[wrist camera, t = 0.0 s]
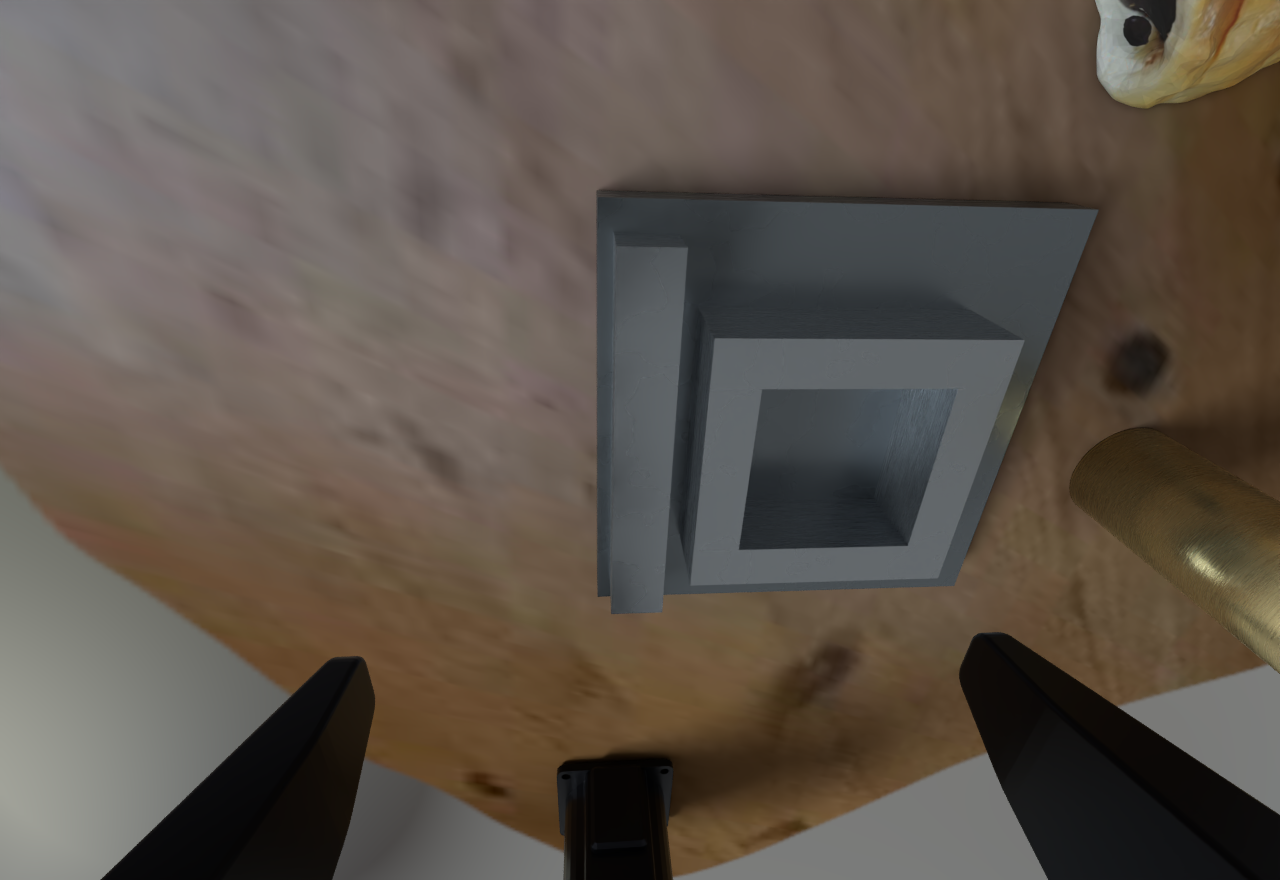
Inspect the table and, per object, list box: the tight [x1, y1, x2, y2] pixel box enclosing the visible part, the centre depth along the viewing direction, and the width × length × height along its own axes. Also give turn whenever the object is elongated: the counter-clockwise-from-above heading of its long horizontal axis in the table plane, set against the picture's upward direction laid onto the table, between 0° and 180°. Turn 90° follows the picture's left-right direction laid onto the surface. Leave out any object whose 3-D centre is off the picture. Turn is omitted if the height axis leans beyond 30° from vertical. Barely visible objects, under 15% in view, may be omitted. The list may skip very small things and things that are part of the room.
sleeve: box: [1069, 428, 1280, 674], centre depth 21 cm, size 4×4×13 cm
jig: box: [597, 190, 1098, 614], centre depth 22 cm, size 16×16×4 cm
